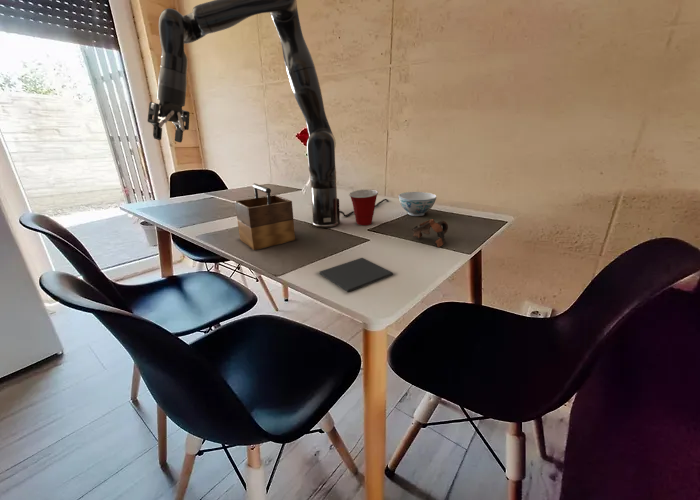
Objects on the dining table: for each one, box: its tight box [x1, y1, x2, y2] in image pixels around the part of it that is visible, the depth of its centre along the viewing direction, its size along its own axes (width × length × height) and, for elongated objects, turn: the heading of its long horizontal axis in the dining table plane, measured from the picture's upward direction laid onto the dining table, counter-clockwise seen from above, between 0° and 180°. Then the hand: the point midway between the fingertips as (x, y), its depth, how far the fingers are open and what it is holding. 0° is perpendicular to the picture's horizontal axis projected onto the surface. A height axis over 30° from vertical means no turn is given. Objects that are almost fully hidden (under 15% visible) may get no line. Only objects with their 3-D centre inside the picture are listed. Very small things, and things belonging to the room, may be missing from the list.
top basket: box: [233, 182, 294, 228], centre depth 98 cm, size 14×12×11 cm
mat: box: [319, 257, 394, 293], centre depth 78 cm, size 14×12×1 cm
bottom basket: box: [236, 219, 296, 251], centre depth 101 cm, size 14×12×7 cm
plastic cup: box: [348, 188, 379, 226], centre depth 116 cm, size 11×11×12 cm
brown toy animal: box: [412, 218, 449, 248], centre depth 98 cm, size 12×10×8 cm
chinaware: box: [398, 191, 437, 217], centre depth 128 cm, size 15×15×8 cm
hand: (168, 140), depth 101 cm, fingers open, 8 cm apart
